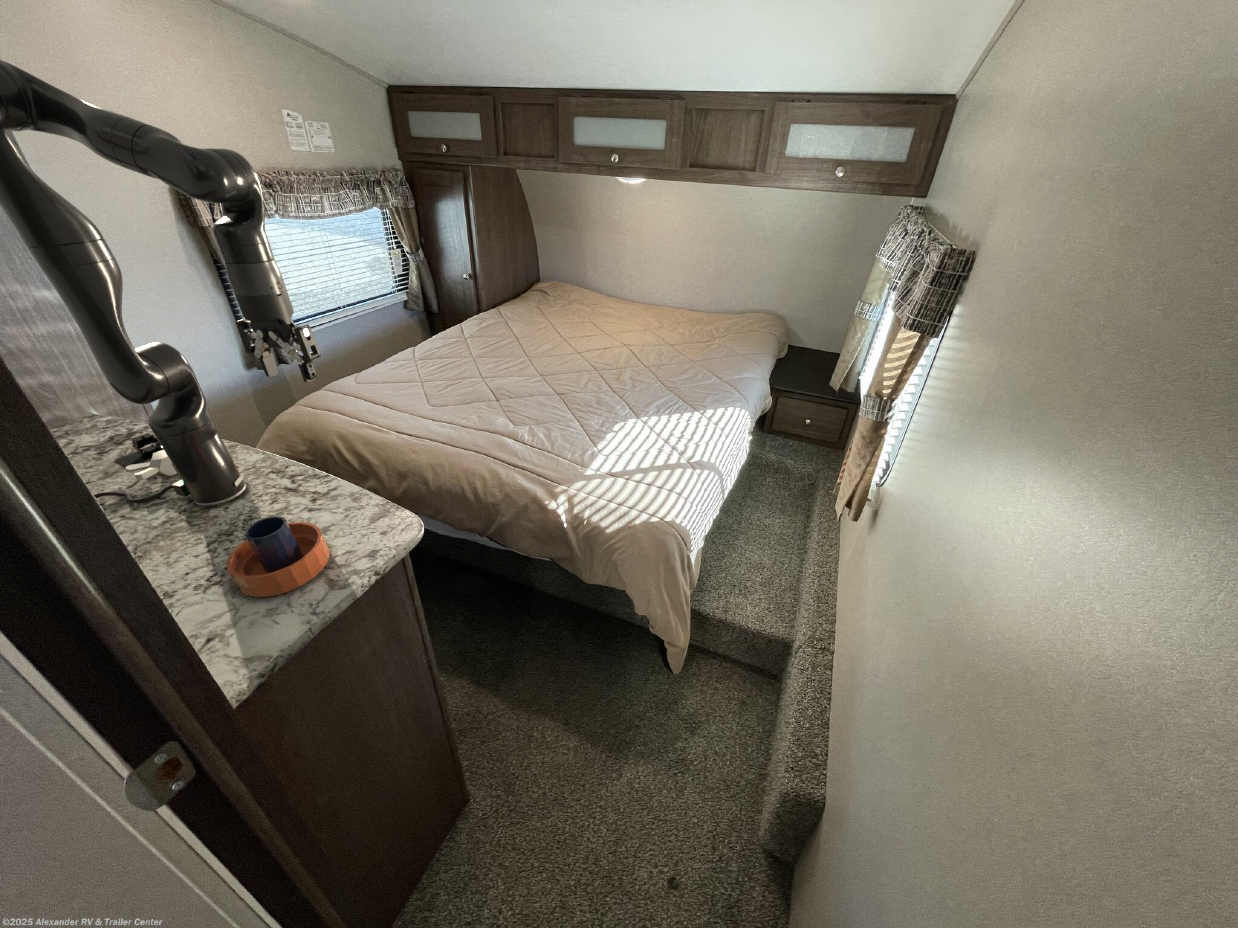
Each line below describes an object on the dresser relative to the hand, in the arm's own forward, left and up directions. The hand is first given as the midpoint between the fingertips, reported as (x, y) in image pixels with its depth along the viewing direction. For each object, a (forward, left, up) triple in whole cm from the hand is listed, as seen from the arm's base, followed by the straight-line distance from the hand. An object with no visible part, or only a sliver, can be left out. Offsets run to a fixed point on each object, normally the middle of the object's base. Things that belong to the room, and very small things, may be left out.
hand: (292, 378), depth 91 cm
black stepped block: (-61, +3, -28) cm, 67 cm away
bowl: (+7, -21, -27) cm, 35 cm away
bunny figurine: (-46, -1, -28) cm, 53 cm away
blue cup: (+7, -21, -27) cm, 35 cm away
